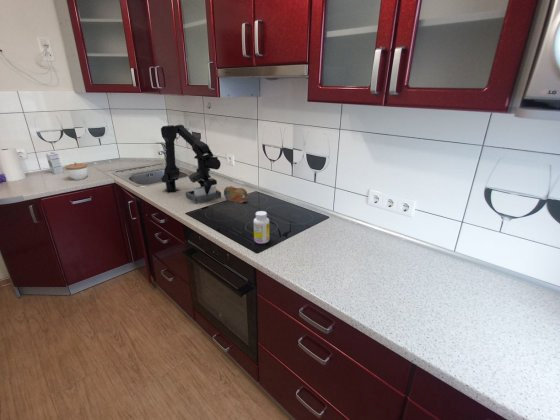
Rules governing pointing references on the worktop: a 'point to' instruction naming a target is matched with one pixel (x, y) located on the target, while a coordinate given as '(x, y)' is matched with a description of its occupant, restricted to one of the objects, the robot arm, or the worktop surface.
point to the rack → (203, 198)
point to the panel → (203, 191)
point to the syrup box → (54, 163)
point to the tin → (235, 194)
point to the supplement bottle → (261, 227)
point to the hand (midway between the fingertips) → (205, 193)
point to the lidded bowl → (77, 170)
